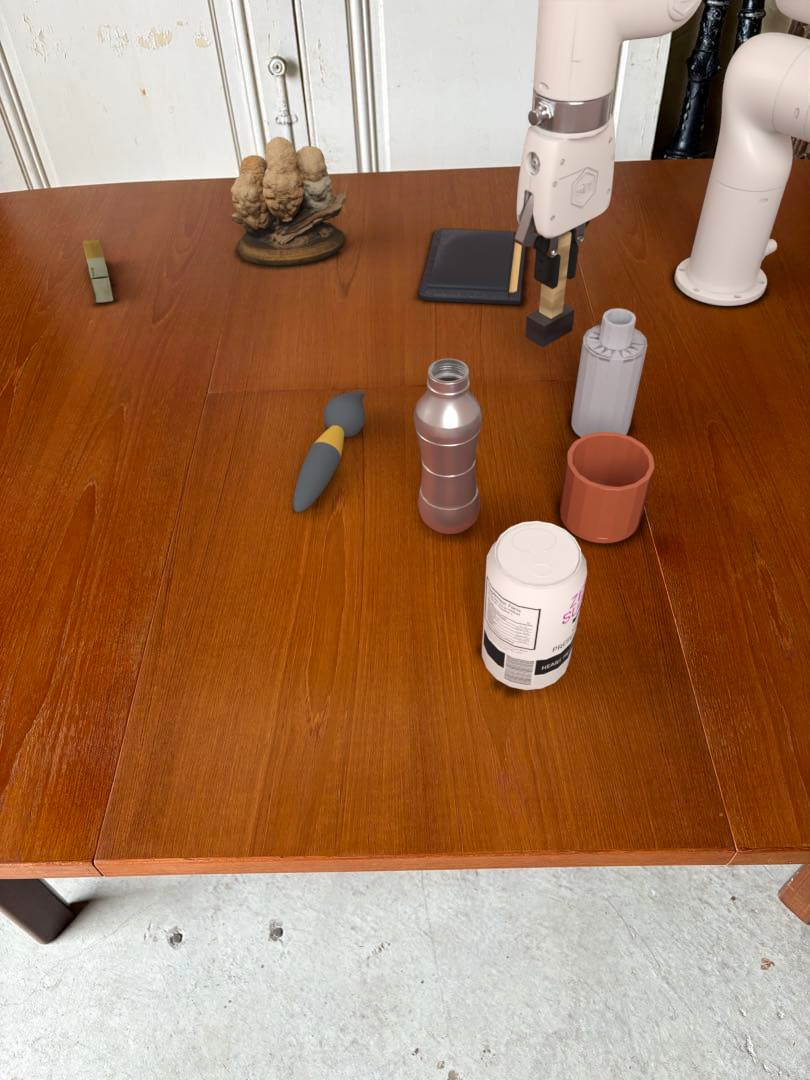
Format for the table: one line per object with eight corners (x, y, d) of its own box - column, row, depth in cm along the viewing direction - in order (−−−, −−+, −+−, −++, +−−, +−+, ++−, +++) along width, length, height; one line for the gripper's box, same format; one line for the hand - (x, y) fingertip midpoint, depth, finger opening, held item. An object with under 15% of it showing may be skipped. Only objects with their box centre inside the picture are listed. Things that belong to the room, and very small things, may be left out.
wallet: (435, 220, 129) (532, 225, 127) (435, 231, 131) (531, 237, 128) (413, 288, 116) (520, 295, 114) (414, 300, 118) (519, 307, 115)
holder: (597, 475, 92) (607, 420, 86) (656, 516, 88) (672, 462, 82) (543, 510, 89) (549, 457, 83) (602, 556, 84) (613, 502, 78)
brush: (554, 320, 100) (564, 219, 90) (572, 330, 98) (584, 229, 88) (524, 336, 98) (532, 235, 88) (542, 347, 96) (552, 245, 86)
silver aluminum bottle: (475, 545, 86) (480, 395, 71) (412, 537, 87) (405, 388, 72) (483, 502, 90) (490, 352, 75) (423, 495, 91) (418, 346, 76)
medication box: (115, 301, 121) (109, 277, 118) (96, 304, 120) (90, 279, 117) (104, 261, 128) (99, 237, 125) (86, 263, 127) (81, 239, 124)
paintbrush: (330, 524, 89) (325, 491, 85) (287, 518, 90) (280, 485, 86) (375, 410, 102) (372, 377, 98) (337, 405, 103) (333, 373, 99)
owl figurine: (348, 223, 134) (337, 114, 121) (353, 260, 126) (342, 147, 113) (238, 233, 133) (216, 124, 120) (236, 271, 125) (212, 159, 112)
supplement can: (475, 625, 79) (479, 520, 68) (559, 617, 80) (577, 511, 68) (488, 697, 74) (494, 597, 63) (577, 689, 74) (600, 587, 63)
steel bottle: (598, 399, 101) (616, 292, 90) (640, 426, 98) (665, 318, 86) (559, 423, 99) (573, 315, 87) (601, 451, 95) (622, 343, 84)
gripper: (539, 145, 73) (527, 320, 87) (656, 94, 79) (627, 265, 93) (483, 121, 77) (479, 292, 91) (598, 74, 83) (578, 241, 97)
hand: (554, 277), depth 92 cm, fingers closed on brush, 2 cm apart
